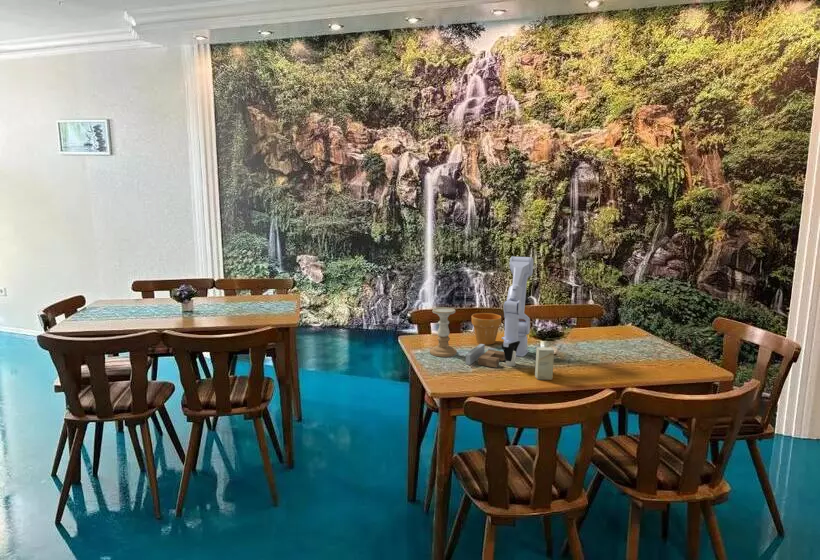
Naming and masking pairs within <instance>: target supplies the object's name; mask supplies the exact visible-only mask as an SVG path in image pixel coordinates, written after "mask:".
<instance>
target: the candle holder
mask: <svg viewBox="0 0 820 560" xmlns="http://www.w3.org/2000/svg"><path fill="white" fill-rule="evenodd" d="M432 313H433V314H434V315H435V314H436V315H437V316H438V317H439V321H437V323H438V324H439V325H438V329H437V335H438V336H437V338H436V340H437V345H435V346H434V347H432V348H430V349H429V354H430V355H431V356H434V357H439V358H449V357H454V356H456V355H457V353H458V351H457V349H456V348H454V347H453V346H452V345H449V341H450V339H451V338H450V329H449V324H450V321H449V319H448V318H449V316H450V315H454V314H455V313H456V309H455V308H452V307H440V306H439V307H433V309H432Z"/></svg>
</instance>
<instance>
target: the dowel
mask: <svg viewBox="0 0 820 560" xmlns="http://www.w3.org/2000/svg"><path fill="white" fill-rule="evenodd" d="M516 357H517V356H516V351H513V355H512V360H511V361H506V360H505V365H506V366H507V367H515V366H516Z"/></svg>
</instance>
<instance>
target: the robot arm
mask: <svg viewBox="0 0 820 560" xmlns="http://www.w3.org/2000/svg"><path fill="white" fill-rule="evenodd" d="M509 270H510V272H511V274H512V282H511V283H512V284H511V285H509V287H508V292H507V296H506V297H507V298H506V300H505V301H504V303H503V316H504V317H503V318H504V333H503V334H504V336H502V337H501V340H503V343H502V344H501V348H502V351H503V352H504V353H505V358H506V359H505V362H506V361H511V360H512V355H513V351H516V357H523V358H524V357H525V356H526V355H527V354H528V353H530V351H529V350H530V349H529V350H528V336H527V335H529V334H530V329H531V318H530V317H529V316H528V315H527V314H526V313H525V310H526V309H525V306H526V297H527V287H528V280H529V277H532V276H533V273H534V258H533V257H532V256H514V255H511V257H510V258H509Z"/></svg>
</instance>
